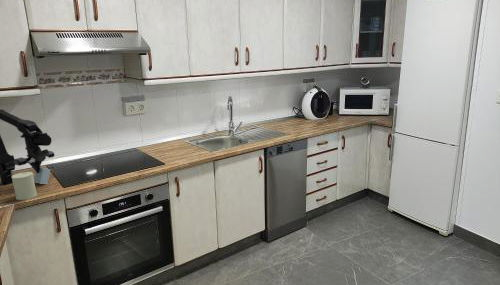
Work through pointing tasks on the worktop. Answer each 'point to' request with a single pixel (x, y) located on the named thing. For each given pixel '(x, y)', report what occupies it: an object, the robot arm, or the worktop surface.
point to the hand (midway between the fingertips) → (37, 172)
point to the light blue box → (42, 176)
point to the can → (24, 185)
